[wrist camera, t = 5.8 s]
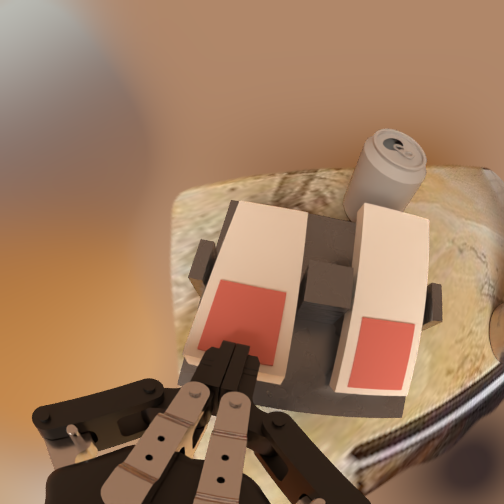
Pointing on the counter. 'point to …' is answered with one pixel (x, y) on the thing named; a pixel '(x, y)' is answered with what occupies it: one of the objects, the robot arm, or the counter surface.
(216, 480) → the robot arm
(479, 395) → the counter surface
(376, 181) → the can
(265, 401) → the switch box
